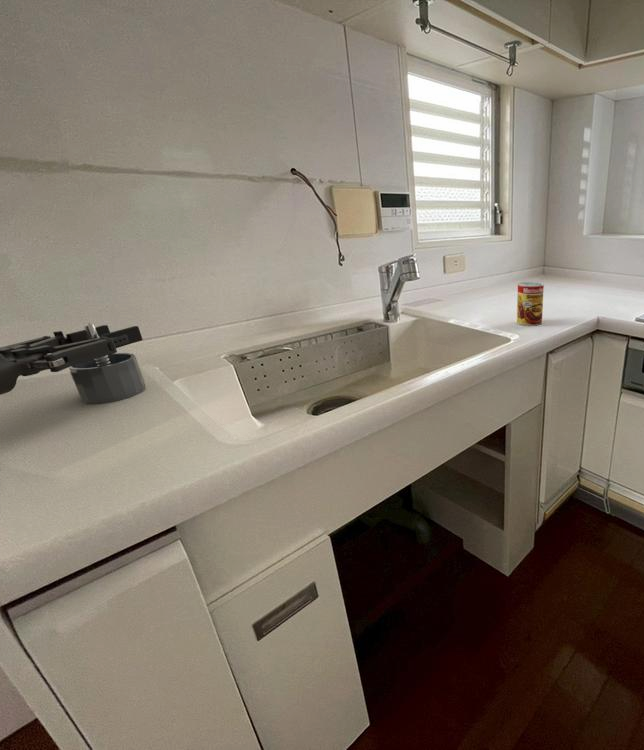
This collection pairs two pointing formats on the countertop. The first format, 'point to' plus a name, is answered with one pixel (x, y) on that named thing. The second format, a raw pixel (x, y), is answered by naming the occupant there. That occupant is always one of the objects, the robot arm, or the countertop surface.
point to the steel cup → (108, 379)
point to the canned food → (530, 303)
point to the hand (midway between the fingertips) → (123, 332)
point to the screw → (92, 335)
